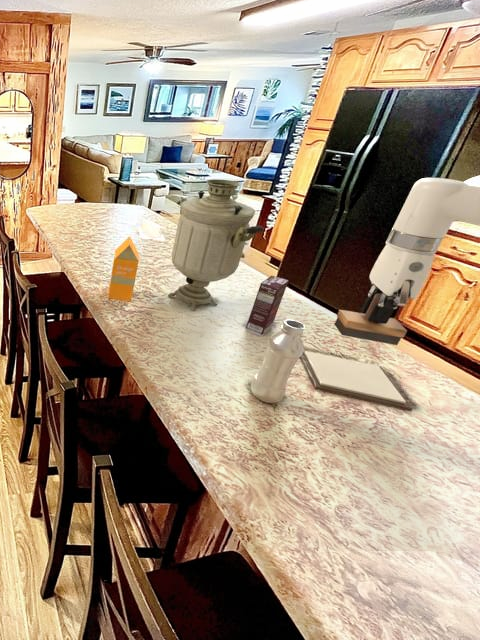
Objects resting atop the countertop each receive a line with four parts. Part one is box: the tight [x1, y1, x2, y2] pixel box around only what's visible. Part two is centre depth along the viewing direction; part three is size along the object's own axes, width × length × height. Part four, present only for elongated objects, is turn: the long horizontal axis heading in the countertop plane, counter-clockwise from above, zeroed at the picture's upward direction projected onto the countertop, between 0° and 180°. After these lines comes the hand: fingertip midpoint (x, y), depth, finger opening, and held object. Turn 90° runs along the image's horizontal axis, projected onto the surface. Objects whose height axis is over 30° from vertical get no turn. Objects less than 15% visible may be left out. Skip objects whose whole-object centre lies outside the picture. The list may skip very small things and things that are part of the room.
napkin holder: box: [137, 220, 166, 241], centre depth 191 cm, size 15×11×6 cm
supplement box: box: [244, 275, 289, 337], centre depth 112 cm, size 9×5×16 cm, turn 130°
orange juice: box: [107, 235, 140, 302], centre depth 130 cm, size 8×9×20 cm
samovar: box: [167, 178, 265, 312], centre depth 122 cm, size 30×26×40 cm
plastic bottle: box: [250, 319, 306, 404], centre depth 85 cm, size 6×7×20 cm
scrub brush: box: [334, 293, 408, 346], centre depth 86 cm, size 10×5×10 cm, turn 68°
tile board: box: [299, 350, 414, 412], centre depth 96 cm, size 18×16×1 cm
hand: (373, 317), depth 86 cm, fingers closed on scrub brush, 2 cm apart
